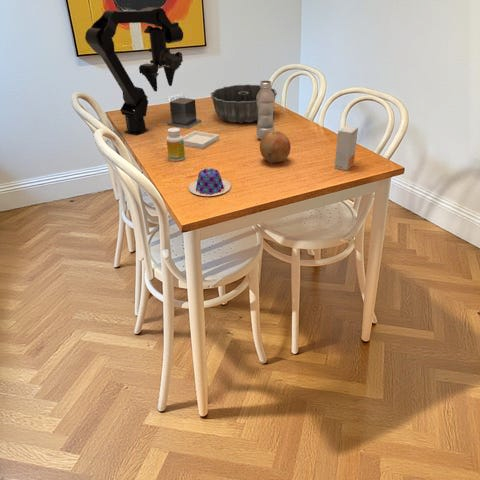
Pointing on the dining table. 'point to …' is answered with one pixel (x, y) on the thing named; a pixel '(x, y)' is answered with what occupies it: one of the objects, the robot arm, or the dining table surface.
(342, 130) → the skincare box
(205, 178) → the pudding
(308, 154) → the dining table surface
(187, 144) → the white tray
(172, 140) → the supplement bottle
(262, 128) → the plastic bottle
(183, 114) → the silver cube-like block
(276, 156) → the onion
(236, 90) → the bundt pan
